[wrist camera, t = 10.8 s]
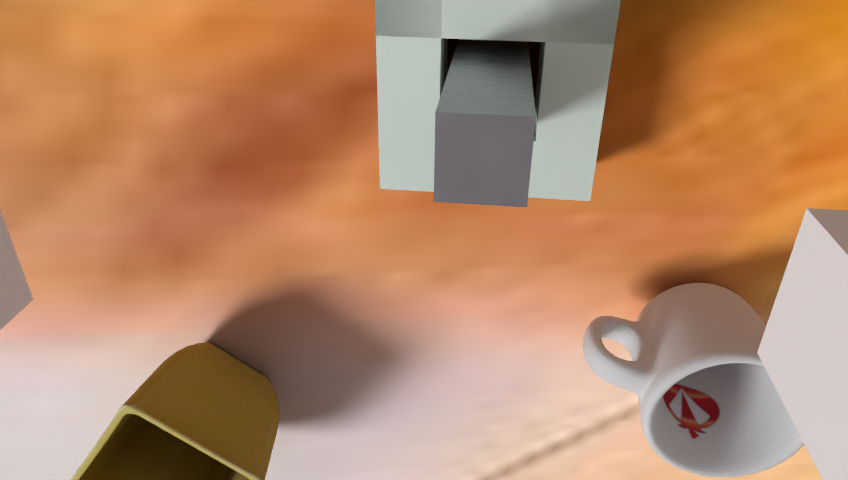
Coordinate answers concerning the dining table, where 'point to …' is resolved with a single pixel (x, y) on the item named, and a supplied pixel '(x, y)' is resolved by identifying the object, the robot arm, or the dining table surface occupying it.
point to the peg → (485, 125)
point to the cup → (698, 381)
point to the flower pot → (190, 423)
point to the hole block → (554, 92)
